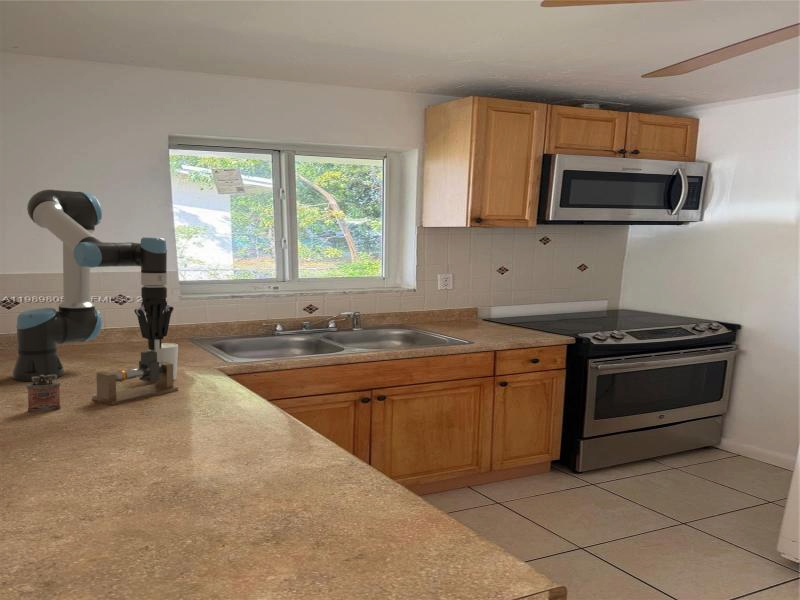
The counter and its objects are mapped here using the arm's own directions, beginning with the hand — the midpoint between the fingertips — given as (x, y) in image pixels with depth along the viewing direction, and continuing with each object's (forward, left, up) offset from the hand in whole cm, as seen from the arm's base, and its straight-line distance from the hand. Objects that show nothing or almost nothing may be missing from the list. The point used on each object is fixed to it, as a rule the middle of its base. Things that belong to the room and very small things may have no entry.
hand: (155, 359), depth 194 cm
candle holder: (-12, +12, -11) cm, 20 cm away
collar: (0, -2, -6) cm, 7 cm away
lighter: (-5, -32, -11) cm, 34 cm away
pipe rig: (0, -7, -10) cm, 12 cm away
